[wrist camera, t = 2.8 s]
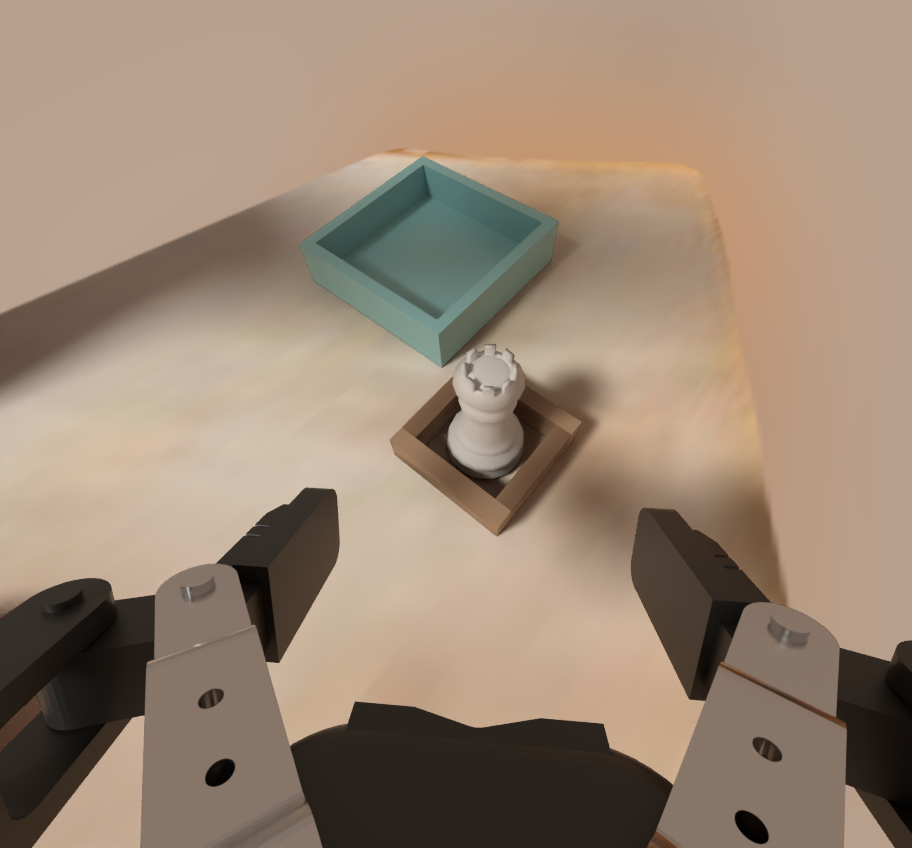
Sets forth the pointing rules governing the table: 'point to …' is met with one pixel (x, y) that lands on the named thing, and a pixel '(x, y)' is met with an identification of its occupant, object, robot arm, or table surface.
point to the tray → (431, 256)
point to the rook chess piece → (487, 414)
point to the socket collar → (459, 487)
